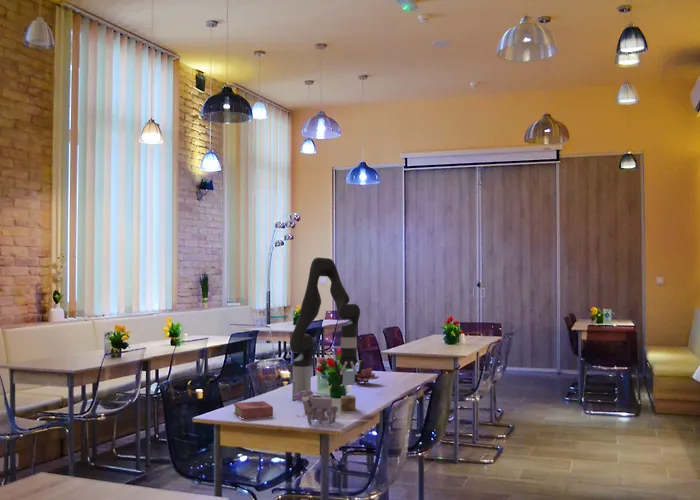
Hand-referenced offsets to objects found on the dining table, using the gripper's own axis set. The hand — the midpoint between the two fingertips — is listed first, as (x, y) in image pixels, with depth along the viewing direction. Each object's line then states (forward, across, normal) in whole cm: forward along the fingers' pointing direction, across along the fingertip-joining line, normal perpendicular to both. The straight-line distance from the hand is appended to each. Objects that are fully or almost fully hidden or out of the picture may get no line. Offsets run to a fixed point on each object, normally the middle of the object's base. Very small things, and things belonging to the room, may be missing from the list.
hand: (348, 382), depth 335 cm
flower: (+14, +15, +79) cm, 81 cm away
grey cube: (+1, 0, 0) cm, 1 cm away
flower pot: (+14, -17, -9) cm, 24 cm away
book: (+14, -44, -7) cm, 47 cm away
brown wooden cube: (+13, 0, 0) cm, 13 cm away
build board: (+14, -3, +4) cm, 15 cm away
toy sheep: (+14, -16, -21) cm, 30 cm away
